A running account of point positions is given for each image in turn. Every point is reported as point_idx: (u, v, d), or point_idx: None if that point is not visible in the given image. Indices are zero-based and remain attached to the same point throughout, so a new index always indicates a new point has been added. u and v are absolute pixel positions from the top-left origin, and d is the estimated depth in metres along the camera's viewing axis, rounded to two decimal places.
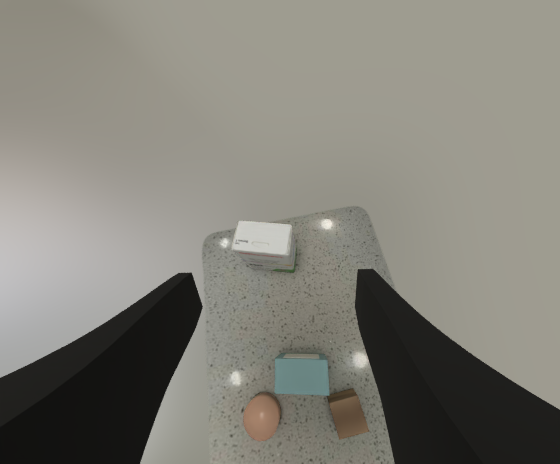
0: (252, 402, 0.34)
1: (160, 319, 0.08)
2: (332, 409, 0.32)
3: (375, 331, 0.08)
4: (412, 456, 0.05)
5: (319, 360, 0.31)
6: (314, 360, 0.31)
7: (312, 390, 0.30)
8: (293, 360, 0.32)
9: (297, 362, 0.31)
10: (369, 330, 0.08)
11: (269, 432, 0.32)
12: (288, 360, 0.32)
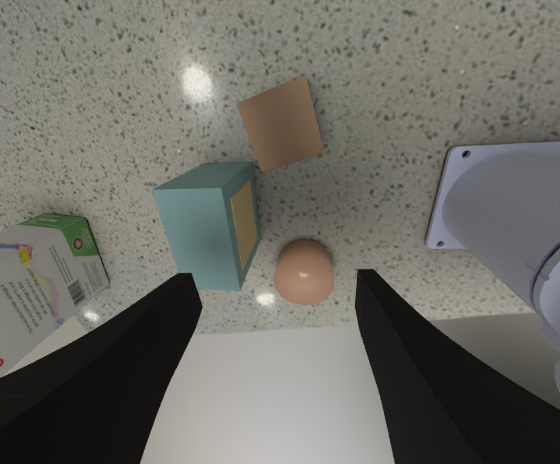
0: (282, 293, 0.21)
1: (160, 319, 0.08)
2: (271, 165, 0.14)
3: (375, 331, 0.08)
4: (412, 456, 0.05)
5: (159, 207, 0.13)
6: (162, 217, 0.14)
7: (219, 224, 0.13)
8: (176, 258, 0.15)
9: (177, 250, 0.15)
10: (369, 330, 0.08)
11: (321, 270, 0.19)
12: (179, 266, 0.15)
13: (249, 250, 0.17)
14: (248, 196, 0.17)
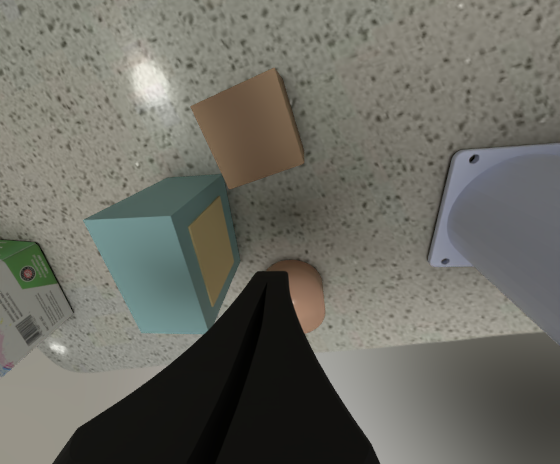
0: None
1: (259, 319, 0.08)
2: (240, 181, 0.12)
3: None
4: None
5: (96, 240, 0.11)
6: (102, 253, 0.11)
7: (174, 259, 0.11)
8: (127, 299, 0.12)
9: (127, 291, 0.12)
10: None
11: (310, 298, 0.16)
12: (132, 309, 0.12)
13: (222, 280, 0.15)
14: (218, 216, 0.14)
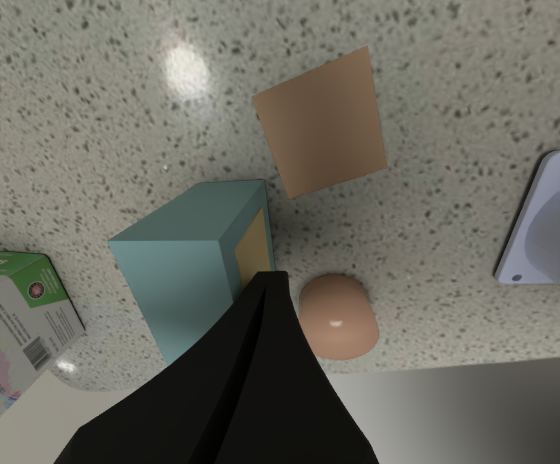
0: None
1: (259, 319, 0.08)
2: (304, 188, 0.10)
3: None
4: None
5: (122, 265, 0.08)
6: (129, 280, 0.09)
7: (217, 292, 0.08)
8: (155, 333, 0.10)
9: (156, 324, 0.10)
10: None
11: (363, 320, 0.14)
12: (160, 343, 0.10)
13: None
14: (260, 231, 0.12)
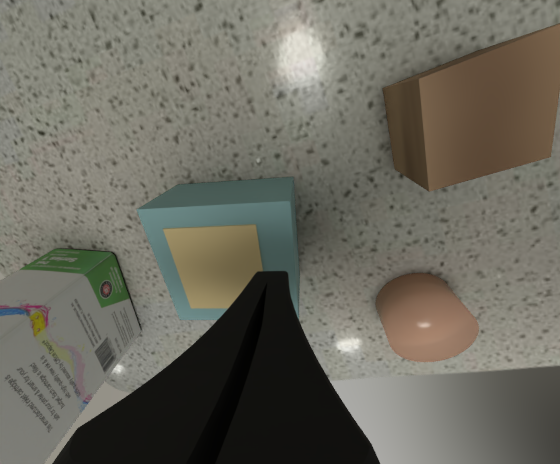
0: (397, 350, 0.15)
1: (259, 319, 0.08)
2: (450, 180, 0.09)
3: None
4: None
5: None
6: None
7: None
8: None
9: None
10: None
11: (464, 320, 0.13)
12: None
13: (222, 303, 0.13)
14: (238, 245, 0.11)
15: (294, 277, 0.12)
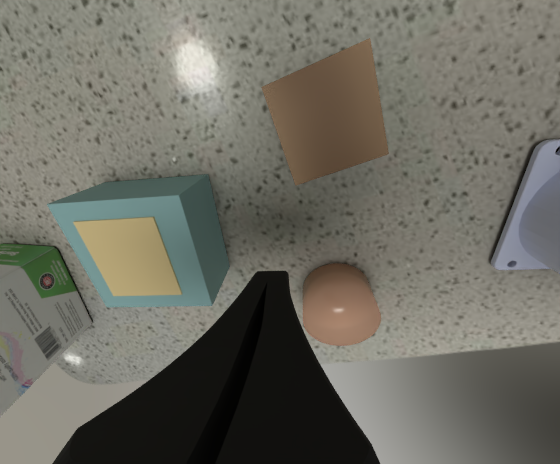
0: (314, 334, 0.16)
1: (259, 319, 0.08)
2: (310, 175, 0.10)
3: None
4: None
5: None
6: None
7: None
8: None
9: None
10: None
11: (365, 305, 0.15)
12: None
13: (140, 291, 0.14)
14: (142, 236, 0.12)
15: (199, 265, 0.13)
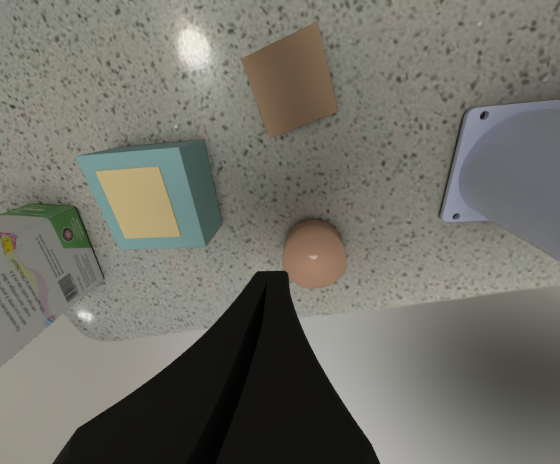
0: (293, 278, 0.19)
1: (259, 320, 0.08)
2: (280, 129, 0.13)
3: None
4: None
5: None
6: None
7: None
8: None
9: None
10: None
11: (333, 247, 0.18)
12: None
13: (147, 233, 0.17)
14: (150, 183, 0.15)
15: (194, 209, 0.16)
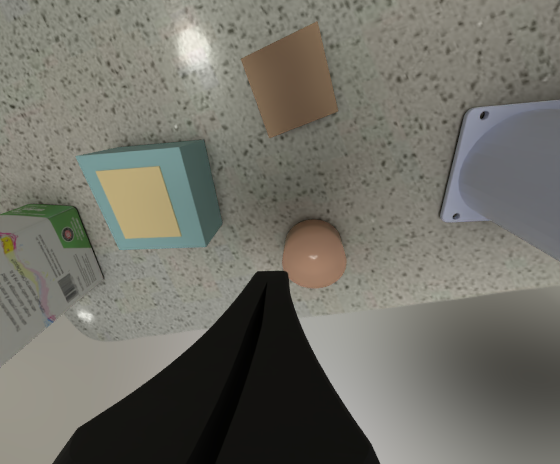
0: (292, 278, 0.19)
1: (259, 320, 0.08)
2: (280, 129, 0.13)
3: None
4: None
5: None
6: None
7: None
8: None
9: None
10: None
11: (332, 248, 0.18)
12: None
13: (147, 233, 0.17)
14: (150, 183, 0.15)
15: (195, 209, 0.16)
